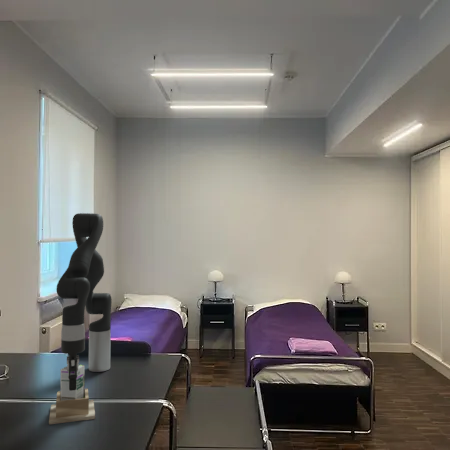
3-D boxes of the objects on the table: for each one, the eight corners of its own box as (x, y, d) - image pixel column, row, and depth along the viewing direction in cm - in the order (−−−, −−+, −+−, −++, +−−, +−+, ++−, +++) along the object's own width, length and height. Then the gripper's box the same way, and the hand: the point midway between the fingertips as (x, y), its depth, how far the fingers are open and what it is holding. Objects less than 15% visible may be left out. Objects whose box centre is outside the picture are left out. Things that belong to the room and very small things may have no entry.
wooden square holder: (51, 407, 153) (51, 390, 153) (93, 402, 158) (93, 385, 158) (48, 424, 140) (49, 405, 140) (95, 418, 144) (95, 400, 144)
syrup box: (76, 414, 145) (76, 369, 146) (59, 412, 147) (60, 368, 147) (85, 407, 151) (85, 364, 151) (69, 405, 152) (69, 363, 152)
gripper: (85, 341, 144) (84, 391, 143) (84, 331, 157) (84, 377, 157) (60, 343, 141) (60, 394, 141) (61, 333, 155) (61, 380, 154)
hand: (72, 385), depth 149 cm, fingers open, 8 cm apart
